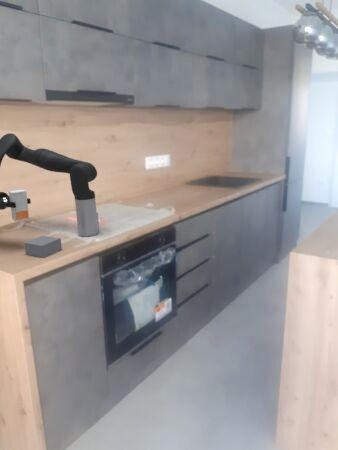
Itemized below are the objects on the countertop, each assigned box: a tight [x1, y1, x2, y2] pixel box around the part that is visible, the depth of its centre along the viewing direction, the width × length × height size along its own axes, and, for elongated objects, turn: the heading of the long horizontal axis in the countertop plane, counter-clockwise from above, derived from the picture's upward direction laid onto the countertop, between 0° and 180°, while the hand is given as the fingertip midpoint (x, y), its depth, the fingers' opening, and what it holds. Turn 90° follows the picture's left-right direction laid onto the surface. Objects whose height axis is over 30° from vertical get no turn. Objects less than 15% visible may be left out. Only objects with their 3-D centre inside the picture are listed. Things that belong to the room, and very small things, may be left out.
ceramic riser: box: [23, 235, 63, 259], centre depth 150 cm, size 10×10×5 cm
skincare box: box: [8, 189, 30, 222], centre depth 152 cm, size 6×4×12 cm
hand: (22, 203), depth 151 cm, fingers closed on skincare box, 7 cm apart
